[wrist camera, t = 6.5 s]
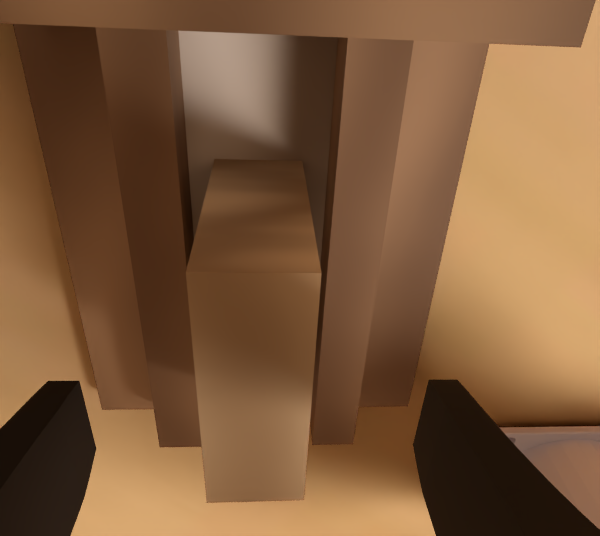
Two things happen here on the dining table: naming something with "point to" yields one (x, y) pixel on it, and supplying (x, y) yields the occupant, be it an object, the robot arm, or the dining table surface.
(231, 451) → the brown wooden block
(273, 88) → the walnut sill track
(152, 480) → the dining table surface
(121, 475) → the dining table surface
